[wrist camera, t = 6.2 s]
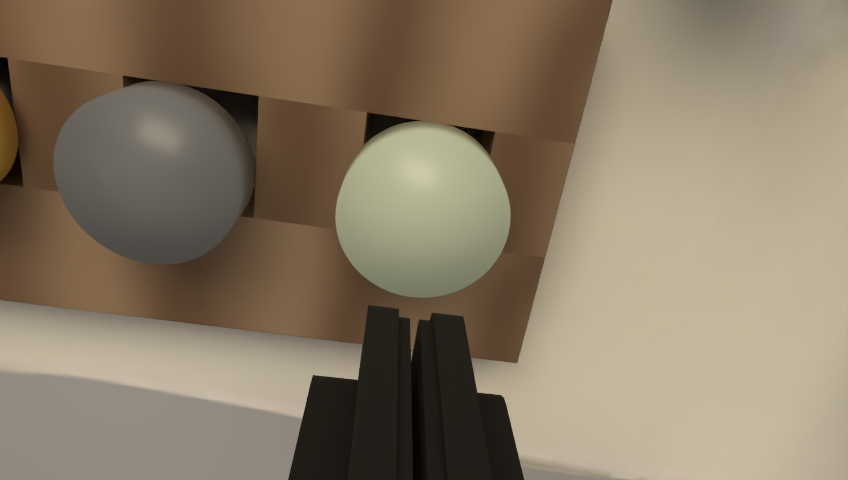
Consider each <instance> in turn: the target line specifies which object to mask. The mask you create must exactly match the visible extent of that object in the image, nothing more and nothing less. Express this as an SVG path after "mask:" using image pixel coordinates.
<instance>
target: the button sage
mask: <svg viewBox="0 0 848 480" xmlns="http://www.w3.org/2000/svg"><path fill="white" fill-rule="evenodd" d="M510 216H511V211H510V203H509V198H508V195H507V191H506V189H505V186H504V184H503V182H502V179H501V177H500V175H499V173H498V170H497V168H496V166H495V163H494V162H493V160H492V158H491V157H490V155H489V154H488V152H487V151H486V150H485V149H484V147H483V146H482V145H481V144H480V143H478V142H477V141H476V140H475V139H474V138H473V137H471V136H470V135H468V134H467V133H465V132H463V131H462V130H460V129H458V128H456V127H453V126H450V125H447V124H443V123H439V122H433V121H412V122H406V123H401V124H398V125H395V126H392V127H390V128H388V129H386V130H383V131H382V132H380V133H378V134H377V135H375V136H374V137H372V138H371V139H370V140H369V141H368V142H367V143H365V144H364V145H363V147H362V148H361V149H360V150H359V151H358V152H357V154H356V155H355V157H354V158H353V160H352V162H351V164H350V166H349V168H348V170H347V173H346V175H345V178H344V181H343V183H342V186H341V189H340V192H339V195H338V198H337V204H336V214H335V221H336V230H337V234H338V238H339V241H340V244H341V246H342V249H343V251H344V253H345V254H346V256H347V258H348V260H349V261H350V262H351V264H352V265H353V266H354V267H355V269H356V270H357V271H358V272H359V273H360V274H361V275H362V276H364V277H365V278H366V279H368V280H369V281H370V282H372V283H373V284H375V285H377V286H378V287H380V288H382V289H384V290H387V291H389V292H392V293H395V294H398V295H402V296H408V297H417V298H428V297H437V296H443V295H447V294H450V293H454V292H456V291H458V290H461V289H463V288H465V287H467V286H469V285H470V284H472V283H474V282H475V281H476V280H478V279H479V278H481V277H482V276H483V275H484V274H485V273H486V272H487V271H488V270H489V269H490V268H491V267H492V265H493V264H494V263H495V262H496V260H497V259H498V257H499V255H500V254H501V252H502V250H503V248H504V246H505V243H506V240H507V237H508V234H509V228H510Z"/></svg>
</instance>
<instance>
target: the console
mask: <svg viewBox="0 0 848 480" xmlns="http://www.w3.org/2000/svg"><path fill="white" fill-rule="evenodd" d="M611 4H612V0H0V57H5V58H8V65H9V73H10V81H11V89H12V97H13V105H14V113H15V121H16V126H17V131H18V145H19V153H20V156H18V155H16V158H15V161H14V163H13V165H12V168H11V169H10V171H9V172H8V174H7V175H6V176H5V177H4V178H3V179H2V180H1V181H0V300H5V301H13V302H21V303H29V304H38V305H46V306H54V307H62V308H70V309H78V310H87V311H95V312H103V313H111V314H119V315H128V316H136V317H144V318H152V319H160V320H168V321H177V322H185V323H193V324H201V325H209V326H218V327H226V328H234V329H242V330H250V331H258V332H267V333H275V334H283V335H291V336H299V337H308V338H316V339H324V340H332V341H340V342H349V343H357V344H363V339H364V332H365V324H366V317H367V309H368V305H373V306H381V307H390V308H398V309H399V317H404V318H410V337H411V350H413V349H414V343H415V337H416V331H417V326H418V322H419V319H421V320H430V317H431V314H432V313H441V314H449V315H457V316H463V317H464V321H465V327H466V333H467V338H468V344H469V350H470V355H471V358H479V359H488V360H496V361H504V362H512V363H517V362H518V358H519V354H520V350H521V347H522V343H523V339H524V335H525V331H526V328H527V324H528V320H529V316H530V312H531V309H532V305H533V301H534V297H535V293H536V290H537V286H538V282H539V278H540V274H541V270H542V267H543V263H544V259H545V255H546V251H547V248H548V244H549V240H550V236H551V232H552V229H553V225H554V221H555V217H556V213H557V210H558V206H559V202H560V198H561V194H562V191H563V187H564V183H565V179H566V175H567V172H568V168H569V164H570V160H571V156H572V152H573V149H574V145H575V141H576V137H577V133H578V130H579V126H580V122H581V118H582V114H583V111H584V107H585V103H586V99H587V95H588V92H589V88H590V84H591V80H592V76H593V73H594V69H595V65H596V61H597V57H598V54H599V50H600V46H601V42H602V38H603V34H604V31H605V27H606V23H607V19H608V15H609V12H610V8H611ZM146 81H166V82H173V83H177V84H183V85H190V86H196V87H203V88H210V89H216V90H223V91H230V92H236V93H243V94H249V95H256V96H259V103H258V128H257V152H256V177H255V189H254V188H253V191H252V195H251V198H250V200H249V203H248V205H247V207H246V208H245V210H244V212H243V213H242V215H241V216H240V217H239V219H238V220H237V221H236V223H235V224H234V225H233V227H232V228H231V229H230V231H229V232H228V233H227V235H226V236H225V237H224V238H223V239H222V241H221V242H220V243H219V244H218V245H216V246H215V247H214V248H213V249H212V250H210V251H209V252H207V253H206V254H204V255H202V256H200V257H198V258H196V259H193V260H190V261H187V262H183V263H177V264H165V265H160V264H149V263H143V262H138V261H135V260H132V259H128V258H126V257H123V256H121V255H119V254H116V253H114V252H113V251H111V250H109V249H107V248H105V247H104V246H102V245H101V244H100V243H98V242H97V241H95V240H94V239H93V238H92V237H91V236H89V235H88V234H87V233H86V232H85V231H84V230H83V229H82V228H81V227H80V226H79V225H78V223H77V222H76V221H75V220H74V218H73V217H72V216H71V214H70V213H69V211H68V209H67V208H66V206H65V204H64V202H63V200H62V198H61V196H60V193H59V190H58V187H57V184H56V180H55V174H54V161H53V158H54V150H55V145H56V141H57V138H58V135H59V133H60V131H61V129H62V127H63V125H64V124H65V122H66V121H67V119H68V118H69V117H70V116H71V115H72V114H73V113H74V112H75V111H76V110H77V109H78V108H79V107H81V106H82V105H83V104H85V103H86V102H88V101H90V100H92V99H94V98H96V97H99V96H102V95H105V94H107V93H110V92H113V91H116V90H119V89H121V88H124V87H127V86H130V85H133V84H136V83H141V82H146ZM371 113H375V114H381V115H388V116H395V117H401V118H408V119H414V120H421V121H433V122H439V123H443V124H447V125H454V126H461V127H467V128H474V129H480V130H482V135H481V140H480V144H481V145H482V146H483V147H484V149H485V150H486V151H487V152H488V154H489V155H490V157H491V158H492V160H493V162H494V163H495V166H496V168H497V170H498V173H499V175H500V177H501V179H502V182H503V184H504V186H505V189H506V191H507V195H508V198H509V203H510V211H511V216H510V228H509V234H508V237H507V240H506V243H505V246H504V248H503V250H502V252H501V254H500V255H499V257H498V259H497V260H496V262H495V263H494V264H493V265H492V267H491V268H490V269H489V270H488V271H487V272H486V273H485V274H484V275H483V276H482V277H481V278H479V279H478V280H476V281H475V282H474V283H472V284H470V285H469V286H467V287H465V288H463V289H461V290H458V291H456V292H454V293H450V294H447V295H443V296H437V297H428V298H417V297H408V296H402V295H398V294H395V293H392V292H389V291H387V290H384V289H382V288H380V287H378V286H377V285H375V284H373V283H372V282H370V281H369V280H368V279H366V278H365V277H364V276H362V275H361V274H360V273H359V272H358V271H357V270H356V269H355V267H354V266H353V265H352V264H351V262H350V261H349V260H348V258H347V256H346V254H345V253H344V251H343V249H342V246H341V244H340V241H339V238H338V234H337V230H336V221H335V214H336V204H337V198H338V195H339V192H340V189H341V186H342V183H343V181H344V178H345V175H346V173H347V170H348V168H349V166H350V164H351V162H352V160H353V158H354V157H355V155H356V154H357V152H358V151H359V150H360V149H361V148H362V147H363V145H364V144H365V143H367V142H368V134H369V126H370V117H371Z"/></svg>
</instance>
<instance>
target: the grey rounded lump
mask: <svg viewBox="0 0 848 480" xmlns="http://www.w3.org/2000/svg"><path fill="white" fill-rule="evenodd" d="M53 161H54V174H55V180H56V184H57V187H58V190H59V193H60V196H61V198H62V200H63V202H64V204H65V206H66V208H67V209H68V211H69V213H70V214H71V216H72V217H73V218H74V220H75V221H76V222H77V223H78V225H79V226H80V227H81V228H82V229H83V230H84V231H85V232H86V233H87V234H88V235H89V236H91V237H92V238H93V239H94V240H95V241H97V242H98V243H100V244H101V245H102V246H104V247H105V248H107V249H109V250H111V251H113V252H114V253H116V254H119V255H121V256H123V257H126V258H128V259H132V260H135V261H138V262H143V263H149V264H160V265H165V264H177V263H183V262H187V261H190V260H193V259H196V258H198V257H200V256H202V255H204V254H206V253H207V252H209V251H210V250H212V249H213V248H214V247H215V246H216V245H218V244H219V243H220V242H221V241H222V239H223V238H224V237H225V236H226V235H227V233H228V232H229V231H230V229H231V228H232V227H233V225H234V224H235V223H236V221H237V220H238V219H239V217H240V216H241V215H242V213H243V212H244V210H245V208H246V207H247V205H248V203H249V200H250V198H251V195H252V191H253V188H254V179H255V169H254V161H253V156H252V152H251V149H250V146H249V144H248V141H247V139H246V137H245V135H244V133H243V132H242V130H241V128H240V127H239V125H238V124H237V122H236V121H235V120H234V119H233V117H232V116H231V115H230V114H229V113H228V112H227V111H226V110H225V109H224V108H223V107H222V106H221V105H219V104H218V103H217V102H216V101H214V100H213V99H211V98H210V97H208V96H207V95H205V94H203V93H201V92H199V91H197V90H195V89H193V88H190V87H188V86H185V85H182V84H177V83H173V82H166V81H146V82H141V83H136V84H133V85H130V86H127V87H124V88H121V89H119V90H116V91H113V92H110V93H107V94H105V95H102V96H99V97H96V98H94V99H92V100H90V101H88V102H86V103H85V104H83V105H82V106H81V107H79V108H78V109H77V110H76V111H75V112H74V113H73V114H72V115H71V116H70V117H69V118H68V119H67V121H66V122H65V124H64V125H63V127H62V129H61V131H60V133H59V135H58V138H57V141H56V145H55V150H54V158H53Z"/></svg>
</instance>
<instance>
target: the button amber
mask: <svg viewBox="0 0 848 480" xmlns="http://www.w3.org/2000/svg"><path fill="white" fill-rule="evenodd" d="M17 148H18V131H17V126H16V121H15V113H14V105H13V97H12V89H11V81H10V73H9V69H8V68H6V67H4V66H2V65H0V181H1V180H2V179H3V178H4V177H5V176H6V175H7V174H8V172H9V171H10V169H11V168H12V165H13V163H14V161H15V158H16V154H17Z"/></svg>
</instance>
